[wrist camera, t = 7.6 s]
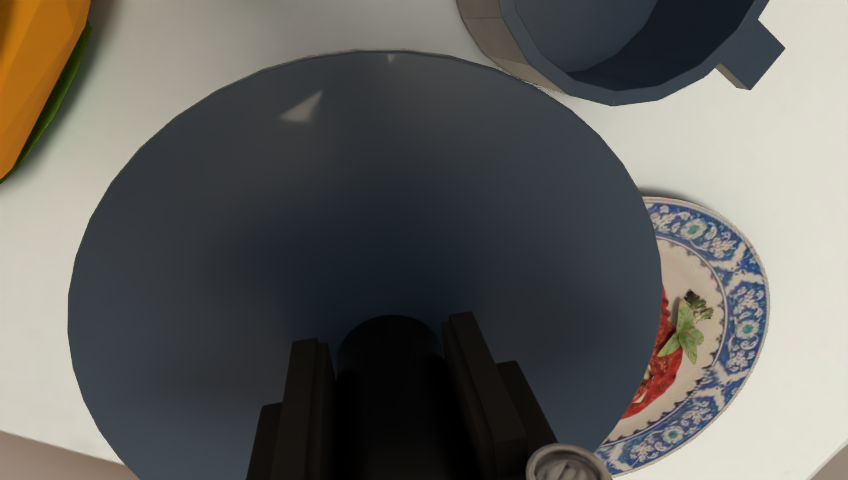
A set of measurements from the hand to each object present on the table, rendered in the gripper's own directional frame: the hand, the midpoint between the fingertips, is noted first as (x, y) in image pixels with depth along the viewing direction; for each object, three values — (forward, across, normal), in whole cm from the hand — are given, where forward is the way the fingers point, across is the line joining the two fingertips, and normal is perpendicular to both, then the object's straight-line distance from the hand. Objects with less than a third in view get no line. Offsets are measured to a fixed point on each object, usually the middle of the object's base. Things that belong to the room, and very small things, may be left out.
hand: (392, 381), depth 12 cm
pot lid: (+1, 0, 0) cm, 1 cm away
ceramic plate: (+22, -16, +18) cm, 33 cm away
